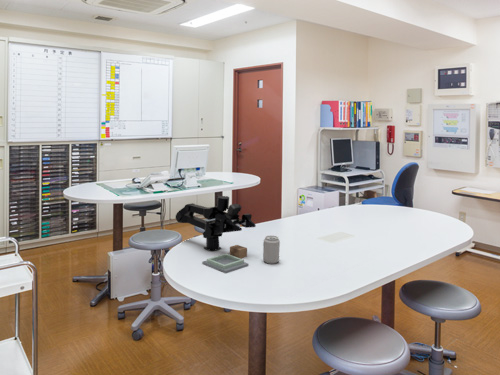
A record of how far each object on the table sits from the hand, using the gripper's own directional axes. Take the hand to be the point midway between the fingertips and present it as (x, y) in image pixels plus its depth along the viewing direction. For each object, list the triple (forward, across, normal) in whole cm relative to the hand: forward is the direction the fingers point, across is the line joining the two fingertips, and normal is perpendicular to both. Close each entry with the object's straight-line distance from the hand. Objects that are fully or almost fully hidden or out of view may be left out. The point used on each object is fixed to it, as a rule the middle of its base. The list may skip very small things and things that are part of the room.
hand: (248, 227), depth 192 cm
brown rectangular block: (-7, +2, +17) cm, 18 cm away
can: (+9, +8, +16) cm, 20 cm away
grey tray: (-2, -11, +16) cm, 20 cm away
